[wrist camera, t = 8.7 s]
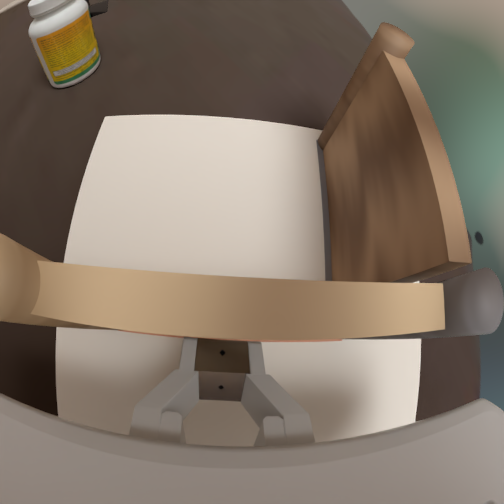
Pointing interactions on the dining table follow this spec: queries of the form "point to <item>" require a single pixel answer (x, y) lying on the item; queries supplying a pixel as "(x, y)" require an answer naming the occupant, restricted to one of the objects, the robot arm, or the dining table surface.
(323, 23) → the dining table surface
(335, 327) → the folding fence section
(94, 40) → the supplement bottle
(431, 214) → the fixed fence section
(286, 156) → the card
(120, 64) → the dining table surface
